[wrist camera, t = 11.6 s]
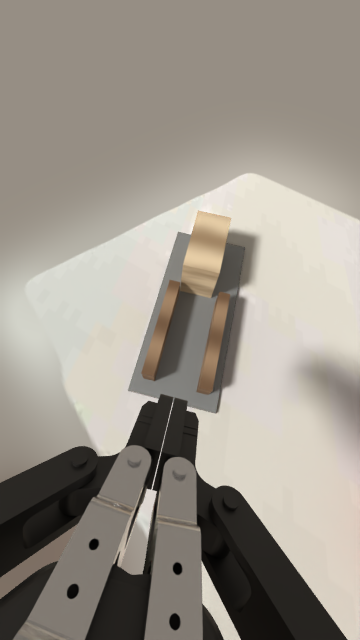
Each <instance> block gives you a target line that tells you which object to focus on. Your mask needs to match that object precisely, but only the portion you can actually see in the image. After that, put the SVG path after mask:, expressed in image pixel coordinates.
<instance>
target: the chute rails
mask: <svg viewBox="0 0 360 640" xmlns="http://www.w3.org/2000/svg"><path fill="white" fill-rule="evenodd" d="M179 290H180V282H178V281H174V280H169V284H168V287H167V290H166V293H165V297H164V300H163V303H162V307H161V310H160V313H159V316H158V320H157V323H156V326H155V330H154V333H153V336H152V339H151V343H150V346H149V349H148V353H147V356H146V359H145V362H144V366H143V369H142V372H141V374H142V376H143V378H144V379H148V380H152V381H155V378H156V375H157V371H158V367H159V364H160V360H161V357H162V353H163V350H164V346H165V342H166V339H167V335H168V332H169V328H170V325H171V321H172V317H173V314H174V310H175V307H176V303H177V300H178V296H179ZM229 299H230V294H228V293H223V292H219V294H218V297H217V299H216V302H215V306H214V310H213V315H212V320H211V324H210V329H209V334H208V339H207V343H206V348H205V353H204V358H203V362H202V367H201V372H200V376H199V381H198V386H197V391H196V392H198V393H202V394H206V395H208V394H210V393H211V392H212V390H213V384H214V379H215V374H216V368H217V363H218V358H219V352H220V347H221V342H222V337H223V331H224V326H225V321H226V315H227V310H228V305H229Z"/></svg>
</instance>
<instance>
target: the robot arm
mask: <svg viewBox="0 0 360 640" xmlns="http://www.w3.org/2000/svg"><path fill="white" fill-rule="evenodd" d="M173 398H174V397H171V396H167V395H164V394H160V397H159V400H158V403H155V402H151V401H148V402H147V403H146V404H144V405H143V406H142V408H141V410H140V413H139V415H138V418H137V421H136V423H135V425H134V428H133V430H132V433H131V435H130V438H129V440H128V443H127V445H126V447H125V448H124V449H123V450H122V451H121V452H120V453H118V454H115V455H112V456H97V454H96V452H95V451H94V450H93V449H91V448H89V447H85V446H79V447H75V448H72V449H70V450H68V451H66V452H64V453H62V454H60V455H58V456H56V457H54V458H51V459H49V460H48V461H45V462H43V463H41V464H39V465H37V466H35V467H33V468H31V469H29V470H26V471H24V472H22V473H20V474H18V475H16V476H14V477H12V478H10V479H7V480H5V481H3V482H1V483H0V577H2V576H3V575H4V574H6V573H7V572H9V571H10V570H11V569H13V568H15V567H16V566H17V565H19V564H20V563H22V562H23V561H24V560H26V559H27V558H29V557H30V556H32V555H33V554H35V553H36V552H38V551H39V550H40V549H42V548H43V547H45V546H46V545H48V544H49V543H50V542H52V541H53V540H55V539H56V538H58V537H59V536H60V535H62V534H63V533H65V532H66V531H68V530H69V529H71V528H72V527H74V526H75V525H76V524H78V525H77V527H76V529H75V531H74V533H73V535H72V536H71V538H70V540H69V542H68V544H67V546H66V548H65V550H64V552H63V553H62V555H61V557H60V559H59V561H57V562H53V563H51V564H49V565H47V566H45V567H43V568H41V569H39V570H38V571H36V572H35V573H33V574H32V575H31V576H29V577H28V578H27V579H26V580H24V581H23V582H22V583H20V584H19V585H18V586H16V587H15V588H14V589H13V590H11V591H10V592H9V593H8V594H6V595H5V596H4V597H2V598H1V599H0V640H224V639H223V637H222V634H221V632H220V630H219V628H218V626H217V624H216V622H215V621H214V619H213V617H212V616H211V614H210V613H209V611H208V610H207V609H206V607H205V606H204V605H203V604H202V568H201V560H202V562H203V564H204V566H205V568H206V570H207V572H208V574H209V576H210V578H211V580H212V582H213V584H214V586H215V588H216V590H217V592H218V594H219V596H220V598H221V600H222V602H223V604H224V606H225V608H226V610H227V612H228V614H229V616H230V618H231V620H232V622H233V624H234V626H235V628H236V630H237V632H238V634H239V636H240V638H241V640H347V638H346V637H345V636H344V634H343V633H342V632H341V630H340V629H339V627H338V626H337V625H336V623H335V622H334V621H333V619H332V618H331V616H330V615H329V614H328V612H327V611H326V610H325V608H324V607H323V606H322V604H321V603H320V601H319V600H318V599H317V597H316V596H315V595H314V593H313V592H312V590H311V589H310V588H309V586H308V585H307V584H306V582H305V581H304V579H303V578H302V577H301V575H300V574H299V573H298V571H297V570H296V568H295V567H294V566H293V564H292V563H291V562H290V560H289V559H288V558H287V556H286V555H285V553H284V552H283V551H282V549H281V548H280V547H279V545H278V544H277V542H276V541H275V540H274V538H273V537H272V536H271V534H270V533H269V531H268V530H267V529H266V527H265V526H264V525H263V523H262V522H261V520H260V519H259V518H258V516H257V515H256V514H255V512H254V511H253V510H252V508H251V507H250V505H249V504H248V503H247V501H246V500H245V499H244V497H243V496H242V495H241V493H240V492H238V491H237V490H236V489H234V488H233V487H230V486H220V487H218V488H214V487H212V486H211V485H209V484H208V483H206V482H205V481H204V480H203V479H202V478H201V477H200V476H199V474H198V473H197V471H196V467H195V458H196V446H197V435H198V423H199V421H198V418H197V416H196V413H193V412H189V411H186V410H187V404H188V401H187V400H183V399H179V398H175V399H174V403H173V407H172V411H171V415H170V419H169V423H168V418H169V414H170V410H171V406H172V402H173ZM167 423H168V427H167ZM166 427H167V431H166ZM165 431H166V435H165ZM164 435H165V439H164ZM163 439H164V444H163V448H162V443H163ZM161 448H162V452H161ZM160 452H161V456H160ZM159 456H160V460H159ZM158 460H159V465H158V469H157V473H156V477H155V482H154V486H153V490H155V491H157V493H156V498H155V502H154V506H153V510H152V517H151V523H150V530H149V537H148V544H147V551H146V558H145V564H144V569H143V574H141V575H131V574H129V573H127V572H126V571H124V570H123V569H122V568H120V567H121V563H122V560H123V557H124V554H125V551H126V548H127V545H128V542H129V539H130V536H131V533H132V530H133V527H134V525H135V522H136V519H137V516H138V513H139V510H140V507H141V504H142V503H143V500H144V497H145V493H146V489H151V488H152V484H153V480H154V476H155V472H156V468H157V464H158Z"/></svg>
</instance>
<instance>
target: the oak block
mask: <svg viewBox="0 0 360 640" xmlns="http://www.w3.org/2000/svg"><path fill="white" fill-rule="evenodd" d="M230 221H231V218H229V217H225V216H220V215H216V214H211V213H207V212H202V211H198V213H197V217H196V220H195V224H194V227H193V231H192V234H191V238H190V242H189V245H188V249H187V252H186V256H185V259H184V263H183V269H182V277H181V286H180V291H183V292H187V293H191V294H195V295H200V296H204V297H208V298H211V296H212V293H213V291H214V288H215V285H216V282H217V279H218V277H219V274H220V269H221V264H222V260H223V255H224V250H225V245H226V240H227V236H228V231H229V226H230Z"/></svg>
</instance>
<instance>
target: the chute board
mask: <svg viewBox="0 0 360 640" xmlns="http://www.w3.org/2000/svg"><path fill="white" fill-rule="evenodd" d="M190 238H191V235H189V234H185V233H181V232H178V234H177V237H176V240H175V244H174V247H173V250H172V253H171V256H170V259H169V263H168V266H167V269H166V272H165V275H164V278H163V281H162V285H161V288H160V291H159V294H158V297H157V300H156V304H155V307H154V310H153V313H152V316H151V319H150V322H149V326H148V329H147V332H146V335H145V338H144V341H143V345H142V348H141V351H140V354H139V357H138V360H137V363H136V367H135V370H134V373H133V376H132V379H131V382H130V386H129V389H128V391H131V392H135V393H139V394H143V395H147V396H150V397H154V398H158V399H159V397H160V394H164V395H167V396H171V397H174V398H173V403H174V399H175V398H179V399H183V400H187V401H188V404H187V406H189V407H193V408H196V409H200V410H204V411H208V412H212V413H216V410H217V404H218V398H219V393H220V387H221V381H222V376H223V370H224V364H225V359H226V353H227V347H228V342H229V336H230V330H231V325H232V319H233V313H234V308H235V302H236V296H237V291H238V285H239V279H240V274H241V268H242V262H243V257H244V251H245V247H241V246H237V245H232V244H228V243H226V245H225V250H224V255H223V260H222V264H221V269H220V274H219V277H218V279H217V282H216V285H215V288H214V291H213V293H212V296H211V298H208V297H204V296H200V295H195V294H191V293H187V292H183V291H180V290H179V296H178V300H177V303H176V307H175V310H174V314H173V317H172V321H171V325H170V328H169V332H168V335H167V339H166V342H165V346H164V350H163V353H162V357H161V360H160V364H159V367H158V371H157V375H156V378H155V381H152V380H148V379H144V378H143V376H142V374H141V372H142V369H143V366H144V362H145V359H146V356H147V353H148V349H149V346H150V343H151V339H152V336H153V333H154V330H155V326H156V323H157V320H158V316H159V313H160V310H161V307H162V303H163V300H164V297H165V293H166V290H167V287H168V284H169V280H174V281H178V282H180V286H181V277H182V269H183V263H184V259H185V256H186V252H187V249H188V245H189V242H190ZM219 292H223V293H228V294H230V299H229V305H228V310H227V315H226V321H225V326H224V331H223V337H222V342H221V347H220V352H219V358H218V363H217V368H216V374H215V379H214V384H213V390H212V392H211V393H210V394H208V395H206V394H202V393H198V392H196V391H197V386H198V381H199V376H200V372H201V367H202V362H203V358H204V353H205V348H206V343H207V339H208V334H209V329H210V324H211V320H212V315H213V310H214V306H215V302H216V299H217V297H218V294H219Z"/></svg>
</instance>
